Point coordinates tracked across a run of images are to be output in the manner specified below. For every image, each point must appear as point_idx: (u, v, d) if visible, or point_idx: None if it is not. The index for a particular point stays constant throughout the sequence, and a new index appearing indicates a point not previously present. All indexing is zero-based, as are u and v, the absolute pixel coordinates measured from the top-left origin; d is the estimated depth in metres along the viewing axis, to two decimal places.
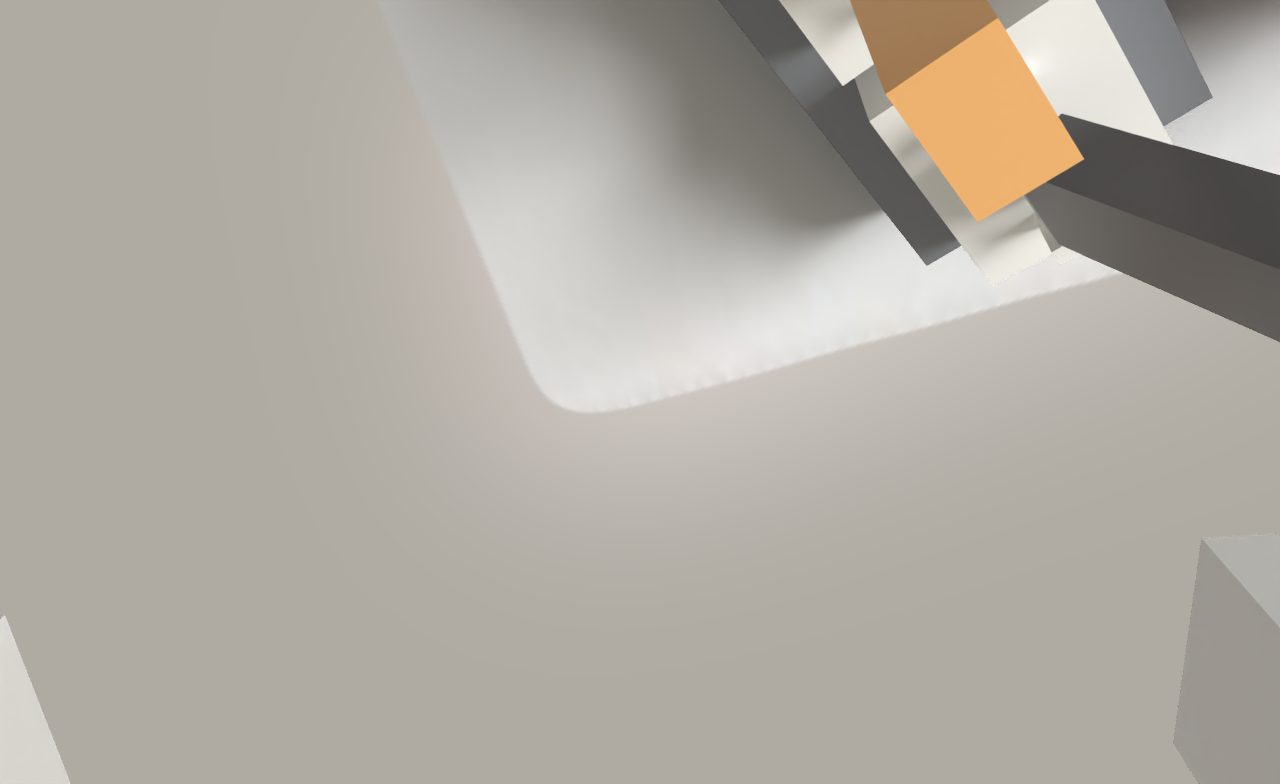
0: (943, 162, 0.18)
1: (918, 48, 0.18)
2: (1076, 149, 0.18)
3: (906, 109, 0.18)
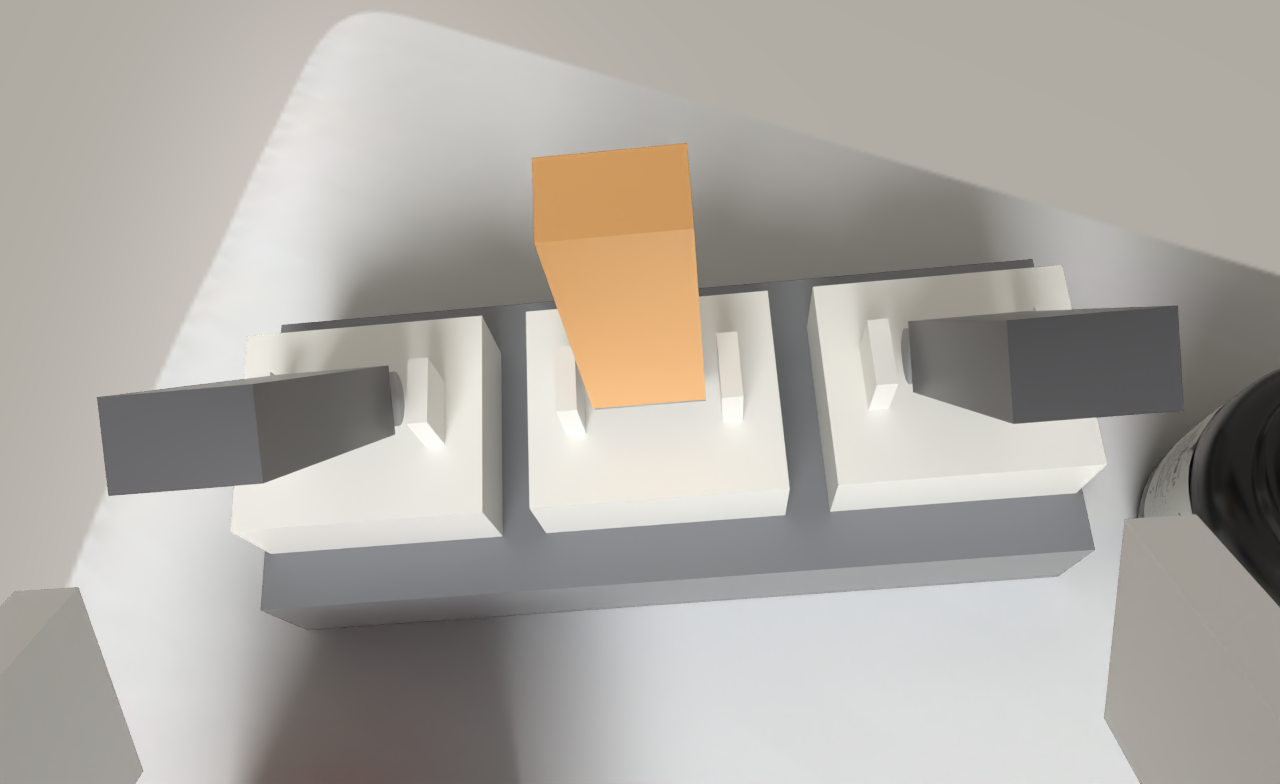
0: (603, 155, 0.22)
1: None
2: (546, 240, 0.21)
3: (664, 150, 0.22)
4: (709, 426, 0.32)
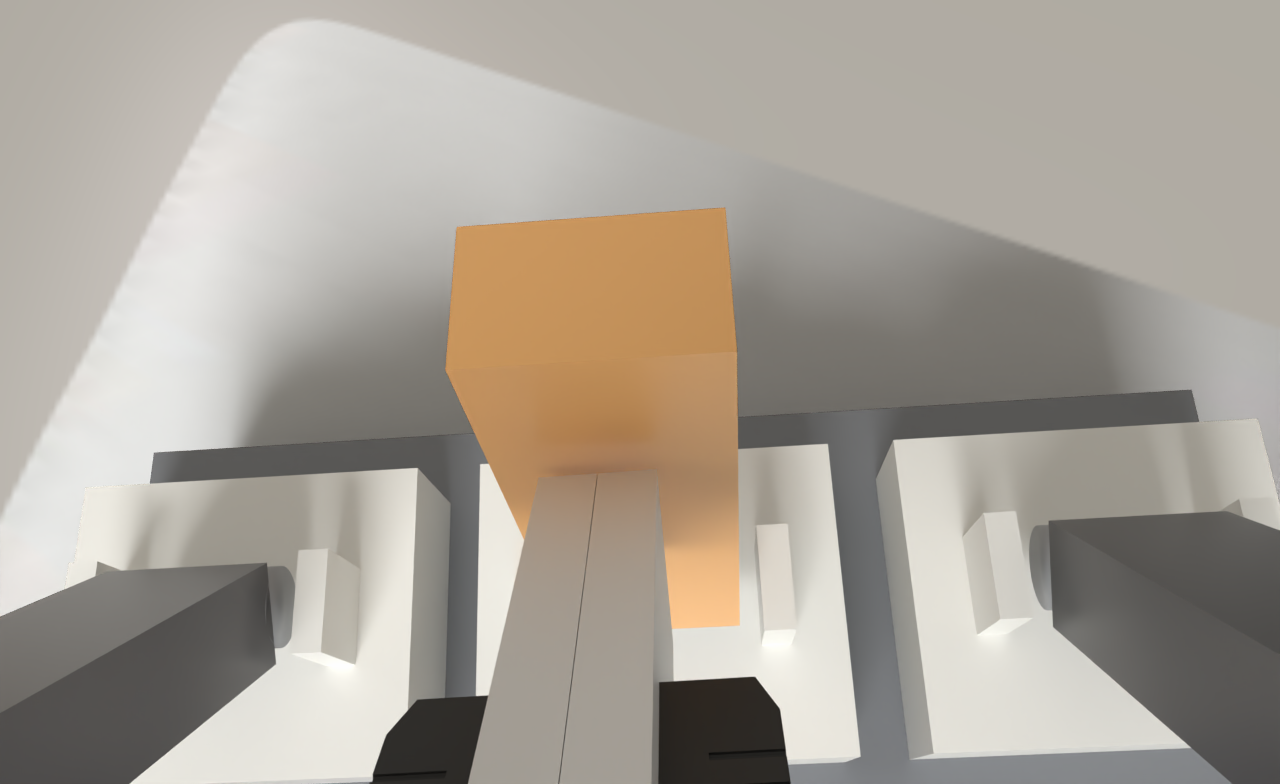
0: (579, 225, 0.13)
1: None
2: (468, 367, 0.12)
3: (686, 218, 0.13)
4: (741, 651, 0.22)
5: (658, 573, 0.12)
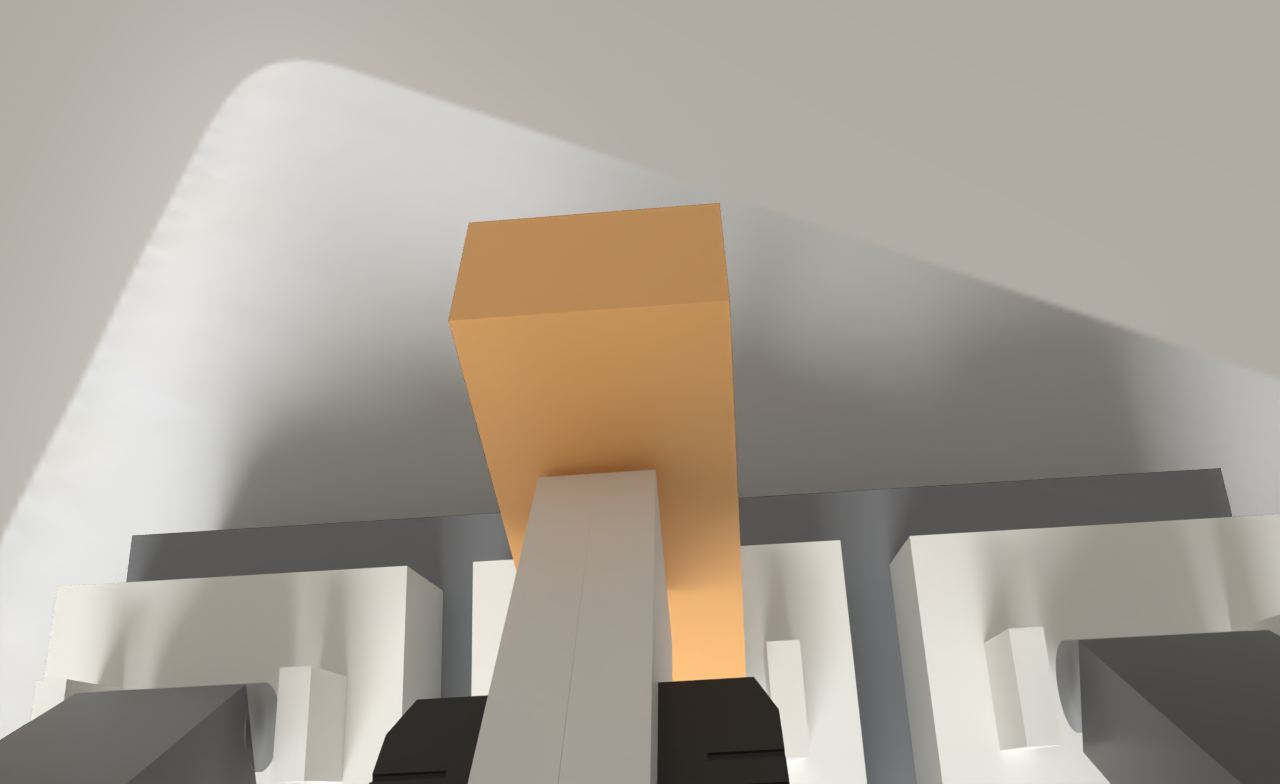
0: (583, 218, 0.14)
1: None
2: (471, 318, 0.12)
3: (683, 210, 0.13)
4: None
5: (656, 573, 0.12)
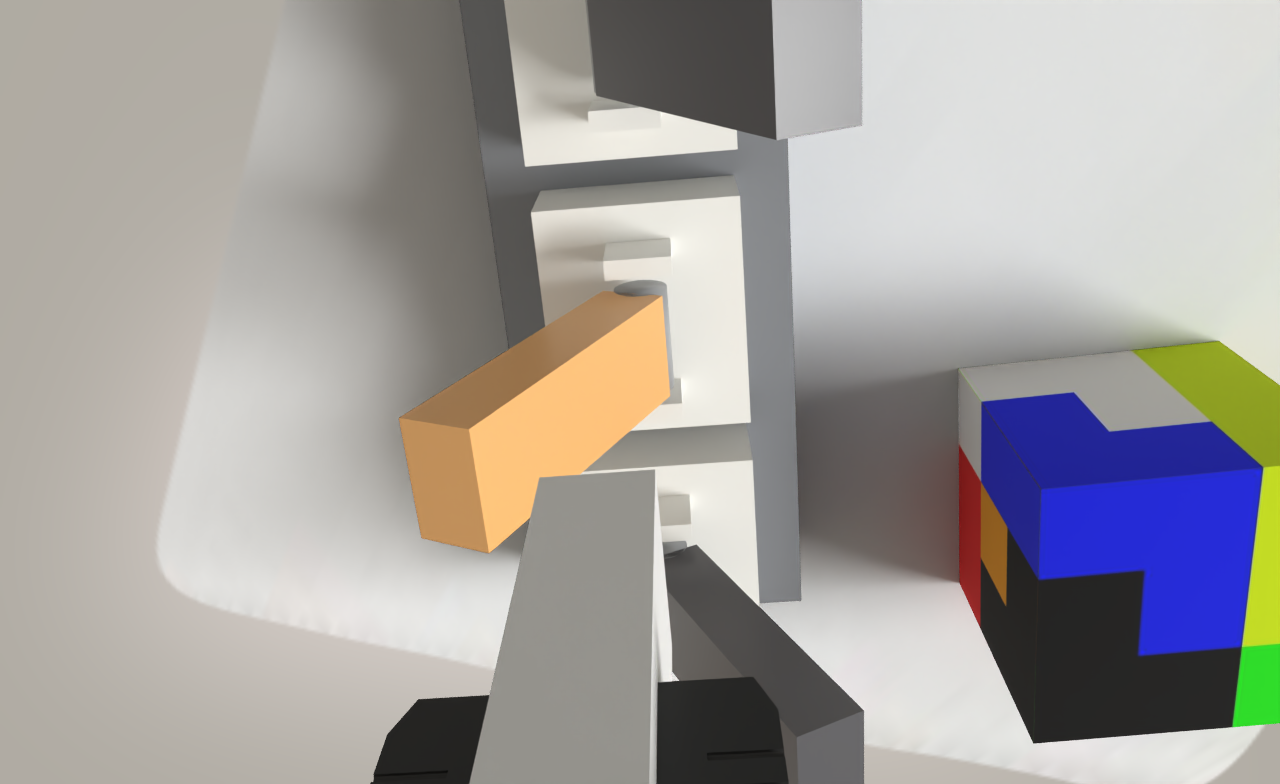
0: (415, 484, 0.25)
1: (442, 410, 0.25)
2: (486, 543, 0.25)
3: (406, 436, 0.25)
4: (676, 269, 0.33)
5: (656, 573, 0.12)
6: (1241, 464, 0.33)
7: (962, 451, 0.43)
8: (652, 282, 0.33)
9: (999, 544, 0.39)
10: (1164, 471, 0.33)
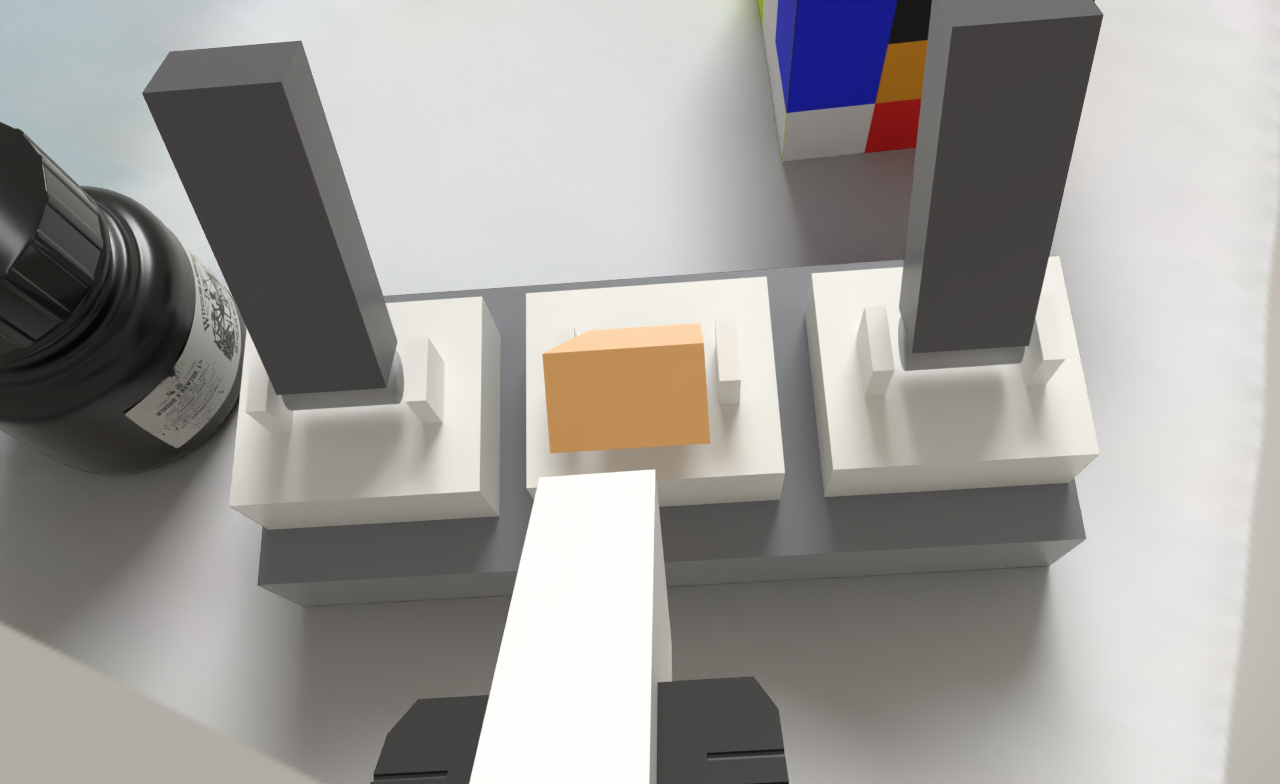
0: (635, 442, 0.21)
1: None
2: (691, 345, 0.21)
3: (572, 446, 0.21)
4: None
5: (656, 573, 0.12)
6: None
7: (867, 144, 0.42)
8: None
9: (920, 57, 0.38)
10: None
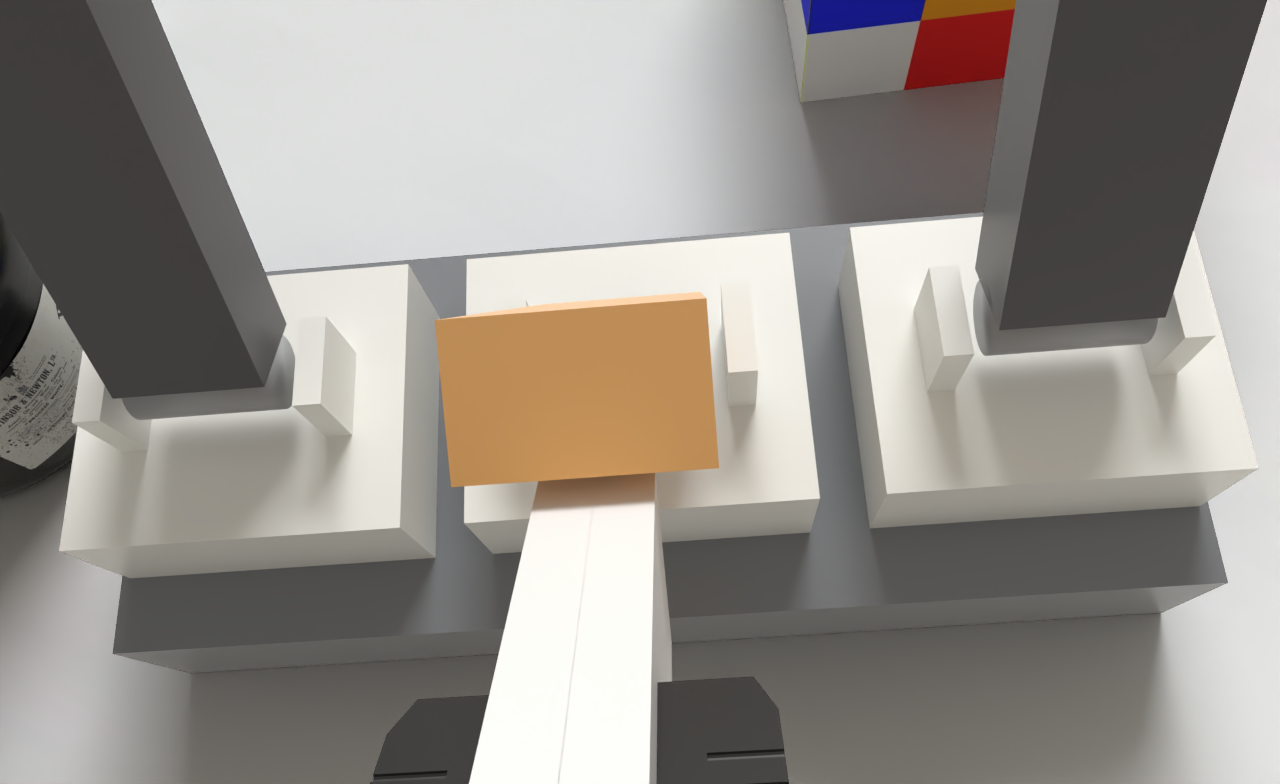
0: (593, 467, 0.13)
1: None
2: (684, 302, 0.12)
3: (487, 475, 0.13)
4: None
5: (656, 573, 0.12)
6: None
7: (908, 78, 0.34)
8: None
9: None
10: None
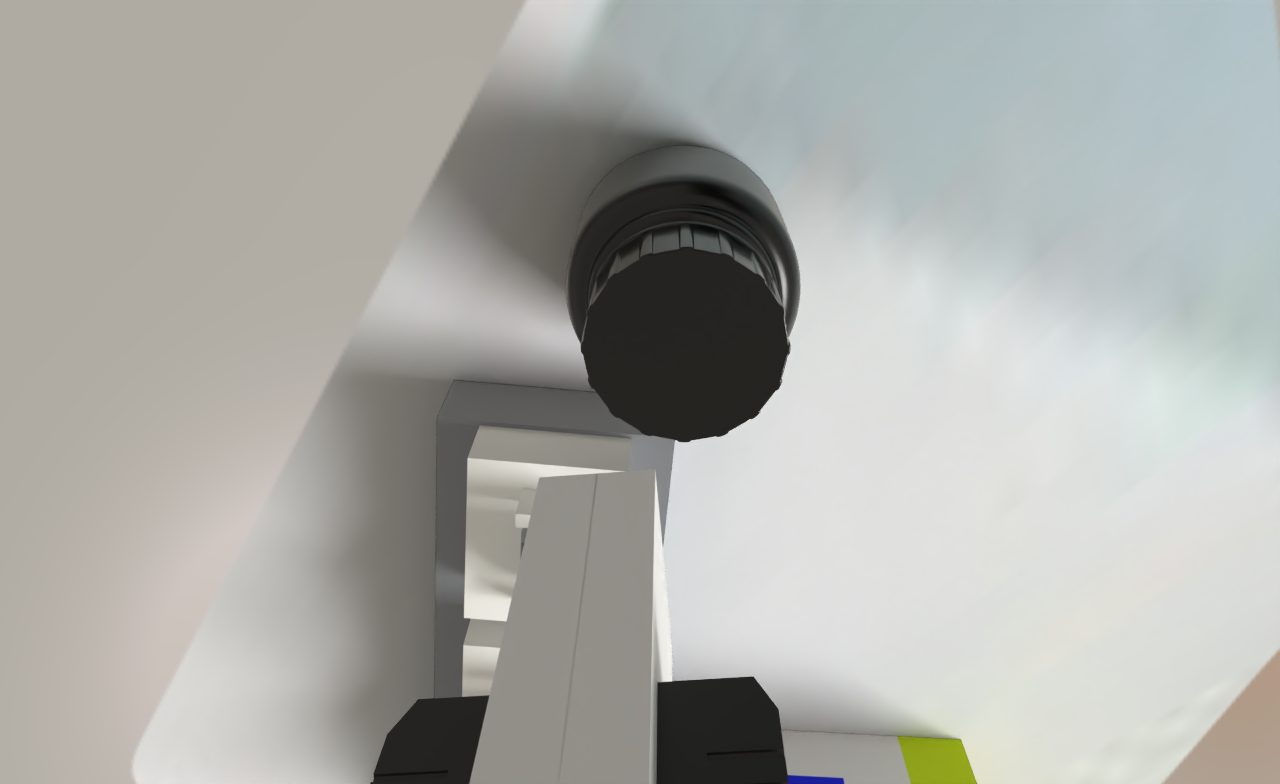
0: None
1: None
2: None
3: None
4: None
5: (656, 573, 0.12)
6: None
7: None
8: None
9: None
10: None
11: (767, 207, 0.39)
